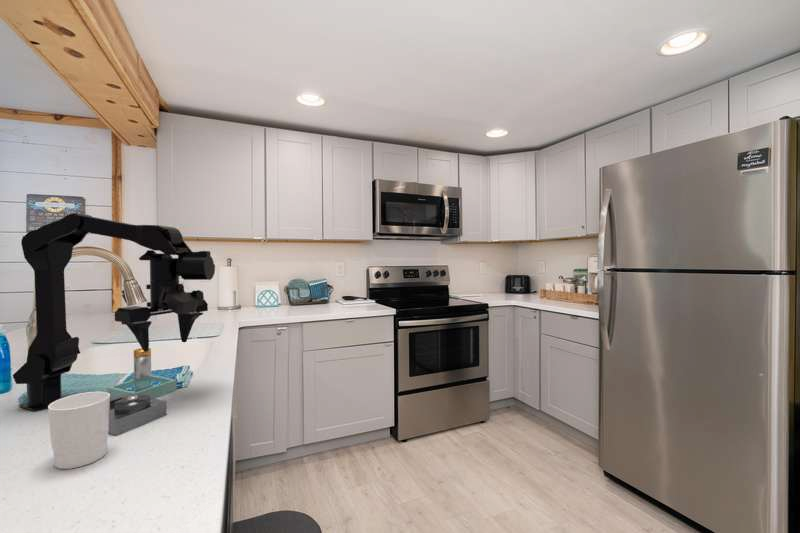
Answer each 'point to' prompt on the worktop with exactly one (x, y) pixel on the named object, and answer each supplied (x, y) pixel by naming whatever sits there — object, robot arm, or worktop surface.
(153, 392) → the tray
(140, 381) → the grey orange-capped bottle
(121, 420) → the tensioner block
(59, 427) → the white cup
